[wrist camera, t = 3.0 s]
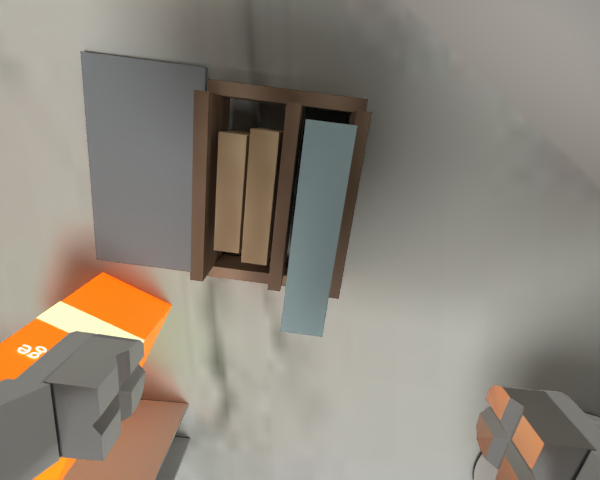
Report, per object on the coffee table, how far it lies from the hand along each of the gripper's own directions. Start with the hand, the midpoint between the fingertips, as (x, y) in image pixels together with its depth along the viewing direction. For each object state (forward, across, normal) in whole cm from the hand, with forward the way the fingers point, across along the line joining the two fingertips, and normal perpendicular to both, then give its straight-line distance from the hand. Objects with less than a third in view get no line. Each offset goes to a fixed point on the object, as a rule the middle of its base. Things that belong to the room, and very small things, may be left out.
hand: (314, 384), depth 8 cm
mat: (+24, +15, 0) cm, 28 cm away
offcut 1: (+24, +6, 0) cm, 25 cm away
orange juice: (+24, +18, +16) cm, 34 cm away
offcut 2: (+24, +4, 0) cm, 24 cm away
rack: (+24, +3, 0) cm, 24 cm away
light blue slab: (+24, 0, 0) cm, 24 cm away
